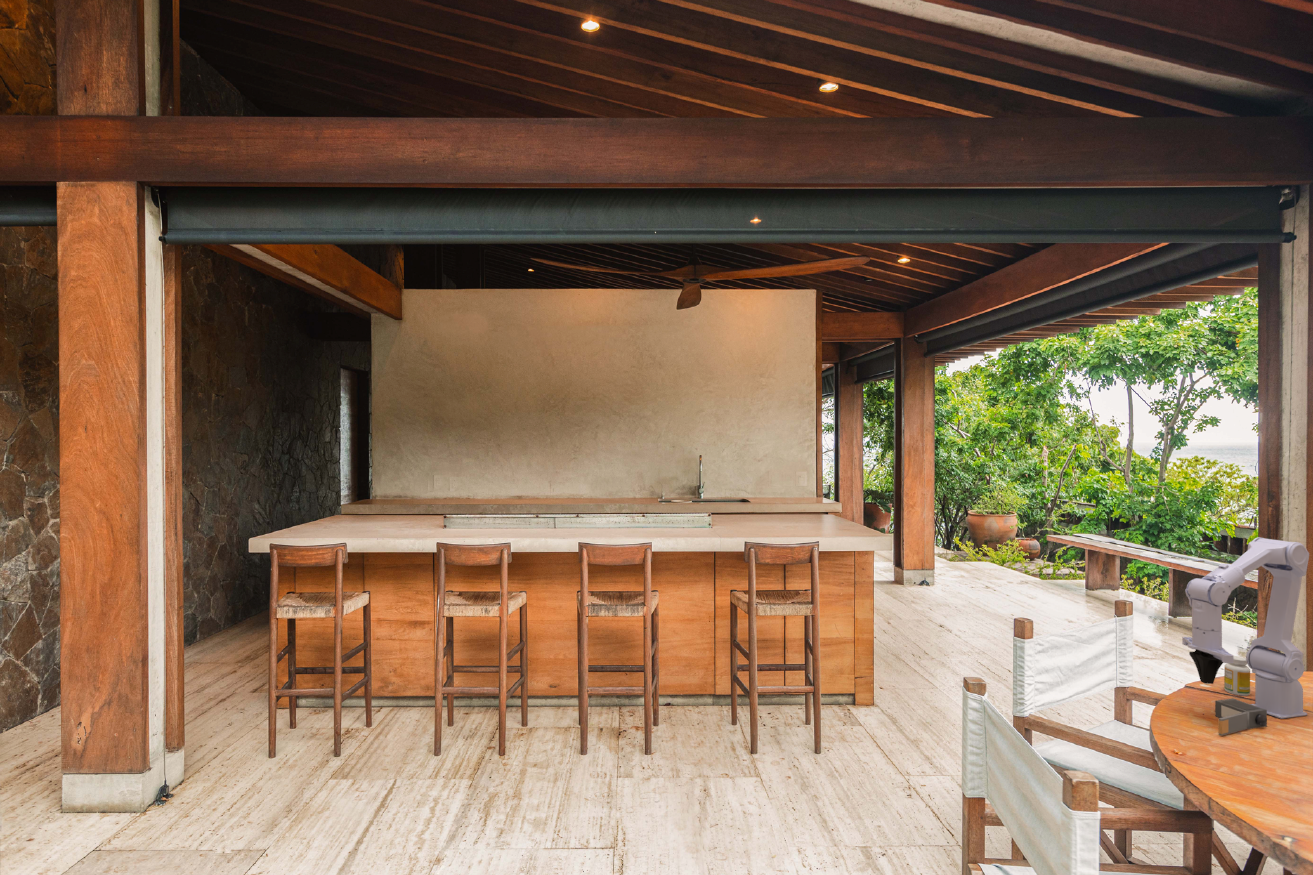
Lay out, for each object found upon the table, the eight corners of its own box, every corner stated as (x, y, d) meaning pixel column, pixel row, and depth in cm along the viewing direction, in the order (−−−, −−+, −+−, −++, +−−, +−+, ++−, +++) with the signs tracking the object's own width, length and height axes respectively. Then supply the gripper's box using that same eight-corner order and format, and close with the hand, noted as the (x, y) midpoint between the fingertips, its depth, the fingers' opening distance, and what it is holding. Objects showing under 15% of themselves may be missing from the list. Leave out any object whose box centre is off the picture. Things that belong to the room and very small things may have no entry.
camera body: (1232, 713, 168) (1233, 697, 168) (1270, 727, 160) (1270, 710, 160) (1215, 716, 166) (1215, 700, 166) (1252, 730, 158) (1252, 713, 158)
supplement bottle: (1222, 691, 183) (1222, 657, 183) (1226, 687, 186) (1226, 653, 186) (1248, 697, 179) (1248, 662, 179) (1252, 693, 182) (1252, 658, 182)
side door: (1217, 734, 155) (1217, 718, 155) (1245, 726, 160) (1245, 711, 160) (1222, 735, 155) (1222, 719, 155) (1249, 728, 159) (1250, 712, 159)
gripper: (1169, 619, 172) (1170, 671, 172) (1211, 636, 158) (1211, 693, 158) (1198, 620, 171) (1199, 672, 171) (1242, 637, 157) (1243, 694, 157)
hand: (1207, 682), depth 164 cm, fingers closed
